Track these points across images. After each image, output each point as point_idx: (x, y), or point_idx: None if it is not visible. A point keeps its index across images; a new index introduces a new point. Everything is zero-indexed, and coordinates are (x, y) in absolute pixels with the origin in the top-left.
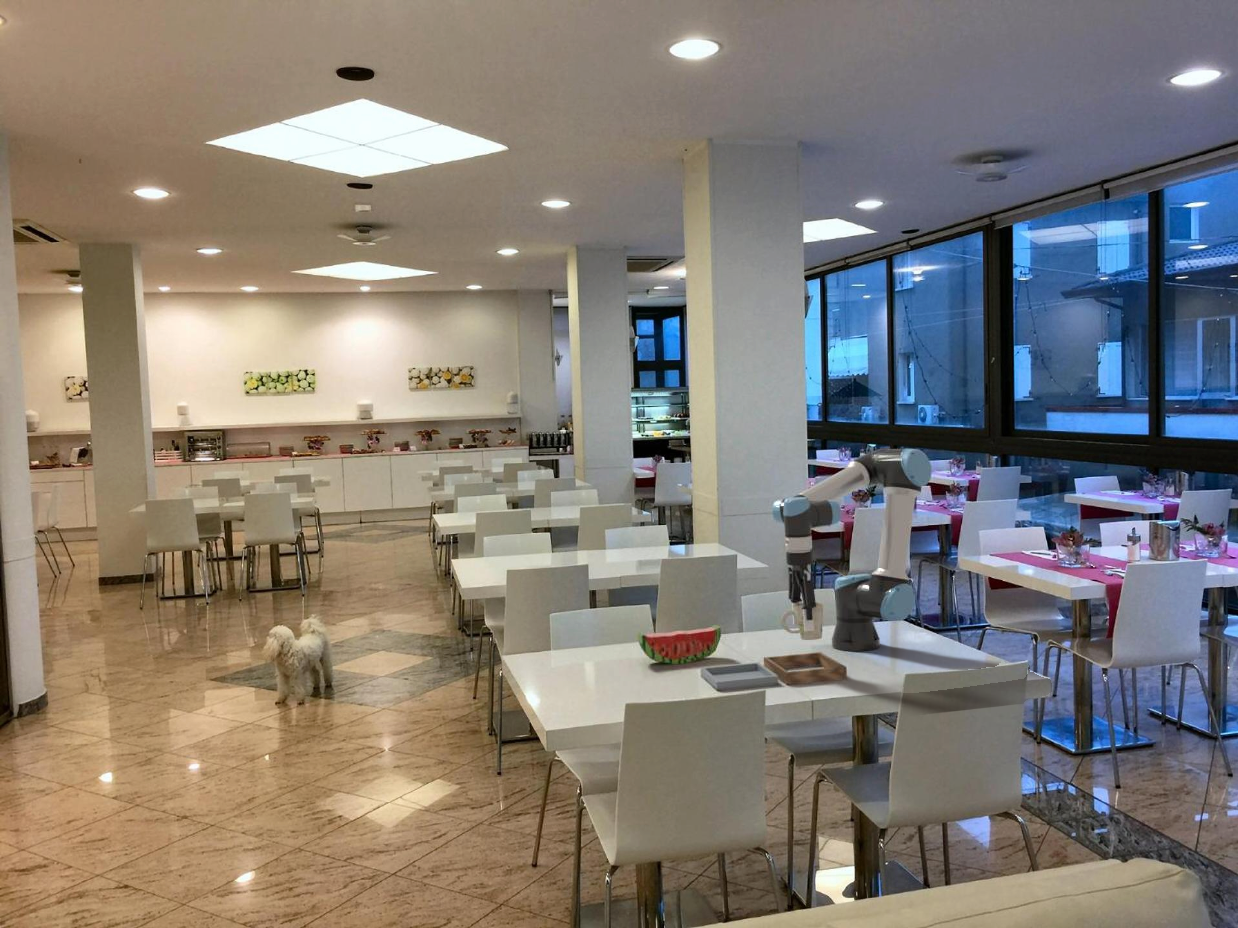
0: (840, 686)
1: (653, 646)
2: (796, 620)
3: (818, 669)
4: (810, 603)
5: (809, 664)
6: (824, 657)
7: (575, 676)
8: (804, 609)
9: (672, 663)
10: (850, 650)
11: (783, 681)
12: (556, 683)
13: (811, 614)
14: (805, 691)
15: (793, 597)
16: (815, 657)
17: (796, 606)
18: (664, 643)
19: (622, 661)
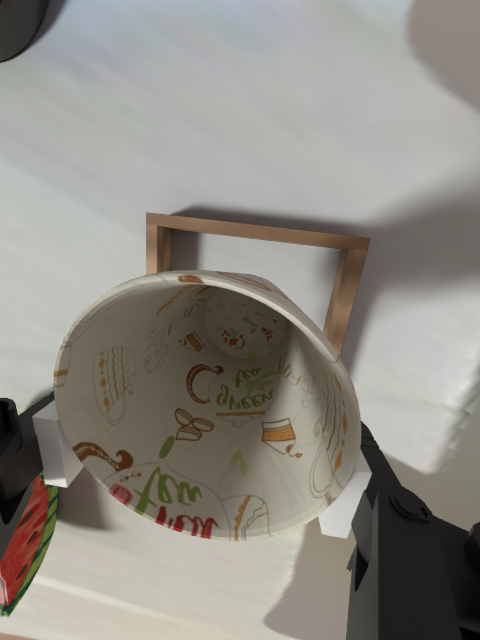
0: (408, 296)
1: (28, 562)
2: None
3: (343, 330)
4: (391, 552)
5: (169, 258)
6: (209, 231)
7: (94, 609)
8: (346, 530)
9: (57, 492)
10: (39, 23)
11: None
12: (124, 634)
13: (379, 458)
14: (389, 388)
15: (4, 545)
16: (162, 237)
17: (216, 535)
18: (18, 550)
19: None
